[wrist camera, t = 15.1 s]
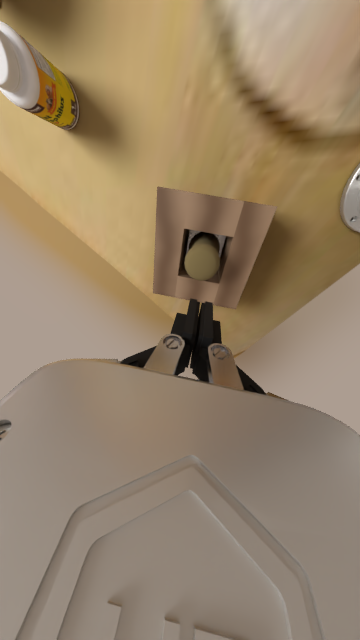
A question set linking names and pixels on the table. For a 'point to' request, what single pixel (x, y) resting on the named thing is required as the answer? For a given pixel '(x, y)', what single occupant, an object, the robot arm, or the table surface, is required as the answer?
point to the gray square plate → (220, 237)
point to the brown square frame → (212, 217)
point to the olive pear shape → (203, 256)
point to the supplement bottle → (35, 81)
